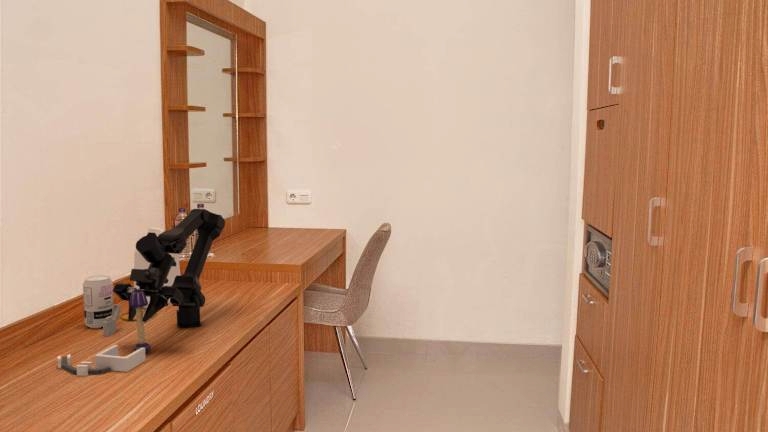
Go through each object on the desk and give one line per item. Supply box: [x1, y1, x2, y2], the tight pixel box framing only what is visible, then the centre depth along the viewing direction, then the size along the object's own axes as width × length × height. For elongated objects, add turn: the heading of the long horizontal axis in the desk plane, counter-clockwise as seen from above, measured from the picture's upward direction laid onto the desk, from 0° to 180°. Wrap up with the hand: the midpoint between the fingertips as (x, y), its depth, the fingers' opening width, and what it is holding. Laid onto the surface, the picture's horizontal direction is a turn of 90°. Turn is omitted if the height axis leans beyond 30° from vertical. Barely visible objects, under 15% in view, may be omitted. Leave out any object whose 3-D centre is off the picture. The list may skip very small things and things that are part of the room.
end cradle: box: [94, 344, 147, 373], centre depth 155 cm, size 8×9×4 cm
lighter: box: [102, 303, 122, 337], centre depth 180 cm, size 7×2×8 cm, turn 171°
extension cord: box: [119, 304, 158, 322], centre depth 199 cm, size 12×16×2 cm
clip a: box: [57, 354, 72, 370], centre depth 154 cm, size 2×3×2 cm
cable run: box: [61, 355, 112, 375], centre depth 152 cm, size 6×17×1 cm, turn 64°
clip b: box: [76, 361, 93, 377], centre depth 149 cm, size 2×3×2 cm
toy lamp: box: [128, 290, 151, 353], centre depth 163 cm, size 5×5×17 cm
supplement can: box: [82, 275, 114, 329], centre depth 186 cm, size 8×8×15 cm
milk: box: [133, 227, 181, 305], centre depth 215 cm, size 12×12×26 cm
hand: (136, 321), depth 161 cm, fingers closed on toy lamp, 4 cm apart
